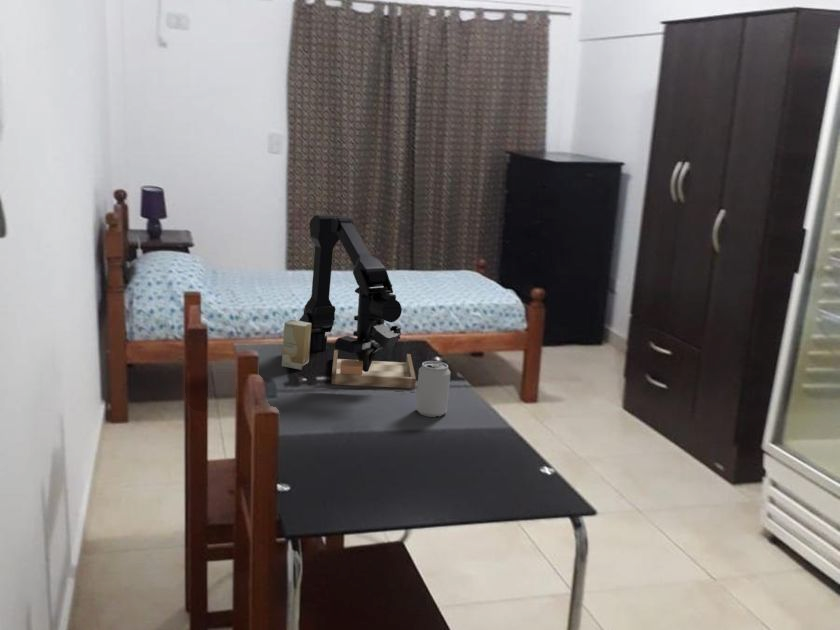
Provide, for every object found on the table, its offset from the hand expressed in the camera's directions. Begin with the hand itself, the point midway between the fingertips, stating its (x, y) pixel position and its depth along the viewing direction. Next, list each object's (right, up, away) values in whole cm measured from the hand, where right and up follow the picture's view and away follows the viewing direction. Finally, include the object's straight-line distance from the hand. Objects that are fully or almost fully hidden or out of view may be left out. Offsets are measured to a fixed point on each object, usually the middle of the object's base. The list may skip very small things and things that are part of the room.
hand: (365, 371), depth 222 cm
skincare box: (-19, +1, +7) cm, 21 cm away
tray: (+2, -2, +3) cm, 4 cm away
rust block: (-3, -2, -4) cm, 6 cm away
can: (+17, -9, -20) cm, 27 cm away
